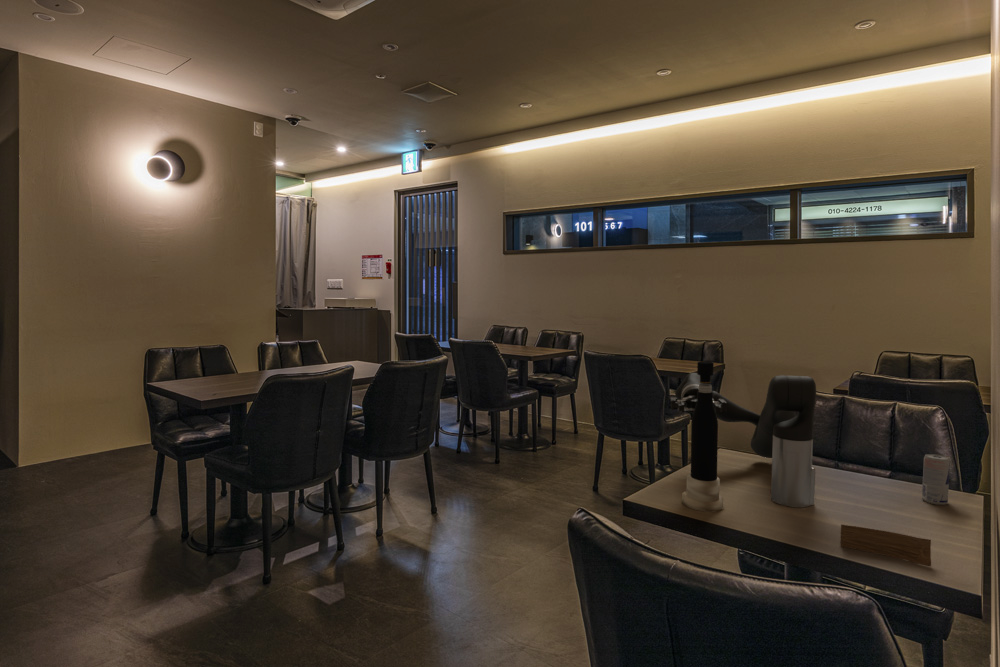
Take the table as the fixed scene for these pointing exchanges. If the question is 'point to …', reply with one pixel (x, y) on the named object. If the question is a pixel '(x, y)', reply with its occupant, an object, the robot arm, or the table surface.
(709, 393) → the black bottle
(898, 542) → the wood plank
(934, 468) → the energy drink
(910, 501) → the table surface
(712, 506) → the plinth
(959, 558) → the table surface
